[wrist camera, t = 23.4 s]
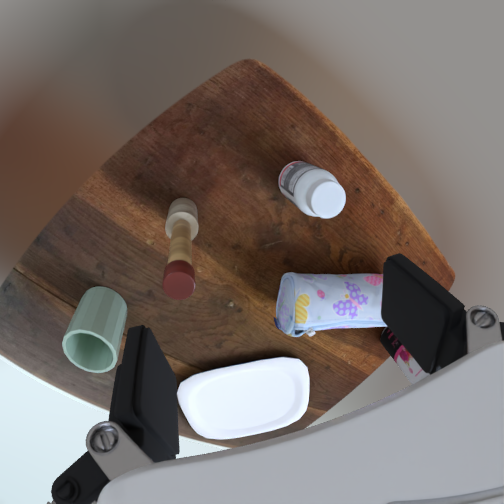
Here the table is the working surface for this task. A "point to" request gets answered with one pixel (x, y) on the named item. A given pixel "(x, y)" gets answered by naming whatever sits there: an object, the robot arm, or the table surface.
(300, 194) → the pill bottle
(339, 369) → the table surface
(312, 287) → the pencil case
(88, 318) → the cup
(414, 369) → the beverage can
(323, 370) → the table surface
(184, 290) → the wooden rod
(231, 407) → the plate
